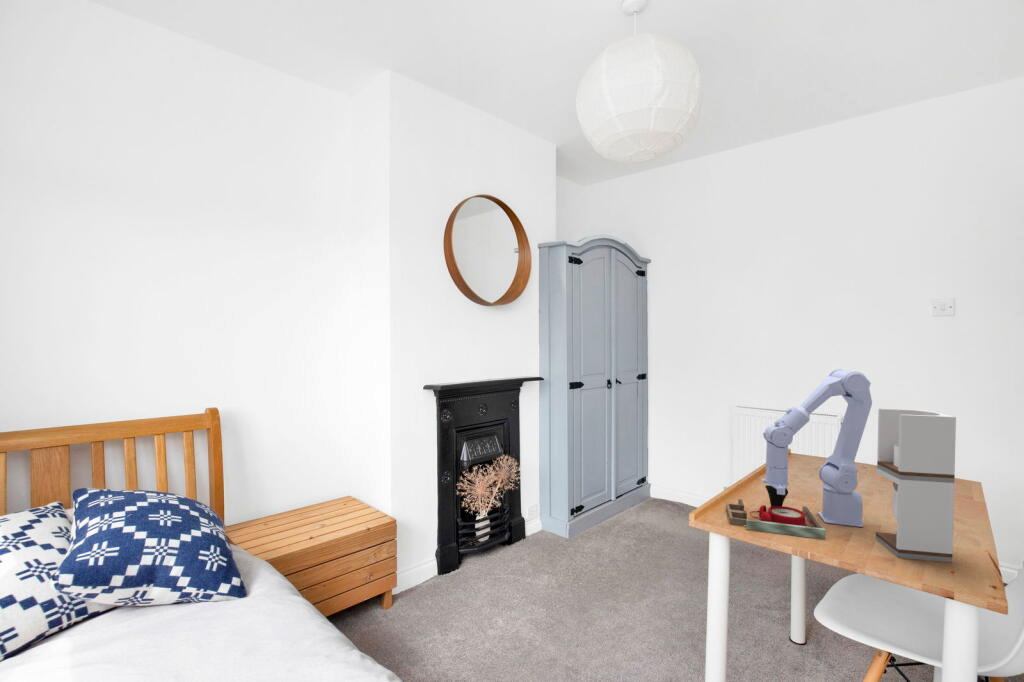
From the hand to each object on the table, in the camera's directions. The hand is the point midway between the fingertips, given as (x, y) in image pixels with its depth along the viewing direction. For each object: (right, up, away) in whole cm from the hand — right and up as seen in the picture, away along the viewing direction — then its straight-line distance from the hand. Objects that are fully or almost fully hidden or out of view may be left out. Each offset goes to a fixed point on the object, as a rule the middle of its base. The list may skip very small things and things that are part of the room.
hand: (776, 511), depth 146 cm
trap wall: (-1, -2, -2) cm, 3 cm away
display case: (+23, -2, -22) cm, 32 cm away
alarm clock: (-2, -2, -5) cm, 6 cm away
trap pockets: (-12, -1, 0) cm, 12 cm away
